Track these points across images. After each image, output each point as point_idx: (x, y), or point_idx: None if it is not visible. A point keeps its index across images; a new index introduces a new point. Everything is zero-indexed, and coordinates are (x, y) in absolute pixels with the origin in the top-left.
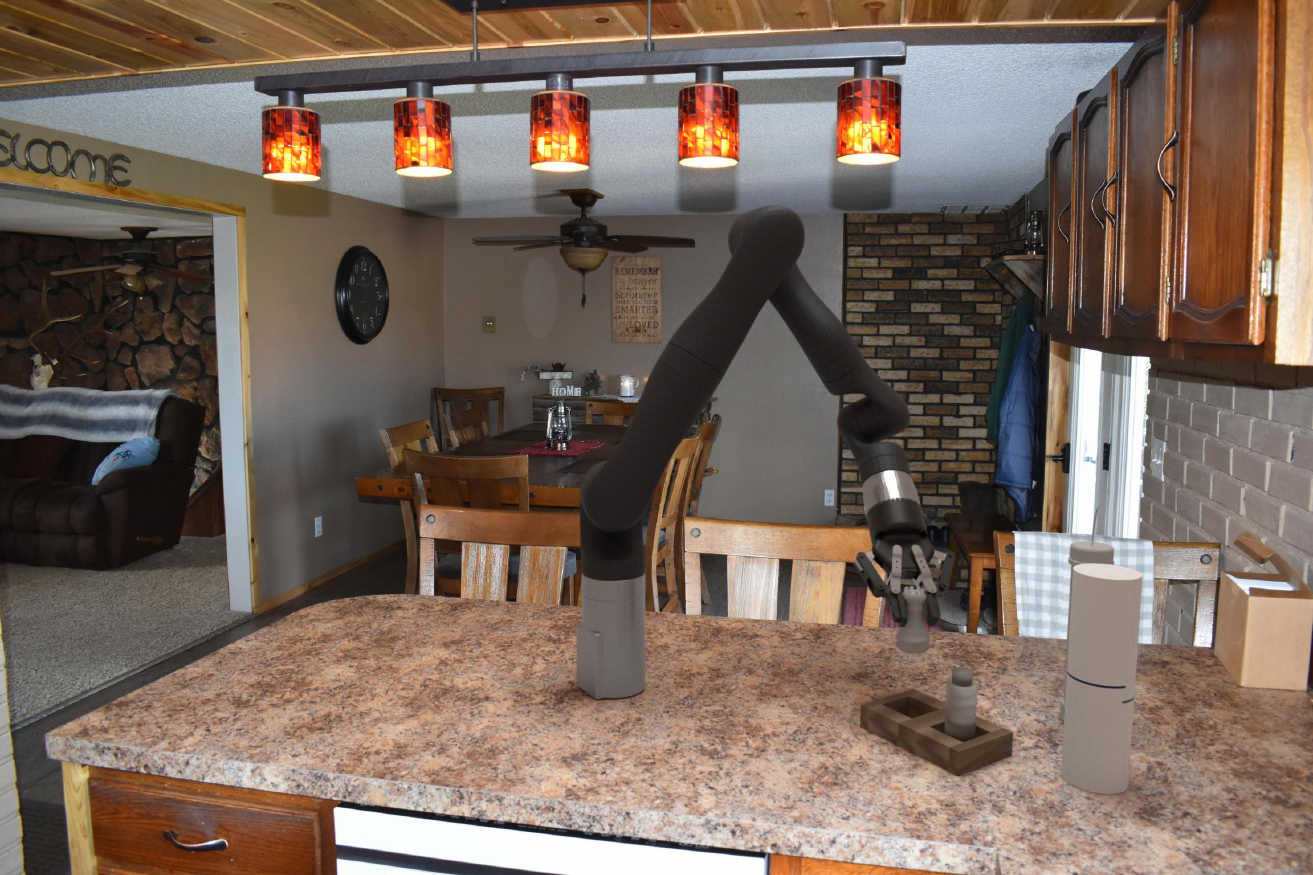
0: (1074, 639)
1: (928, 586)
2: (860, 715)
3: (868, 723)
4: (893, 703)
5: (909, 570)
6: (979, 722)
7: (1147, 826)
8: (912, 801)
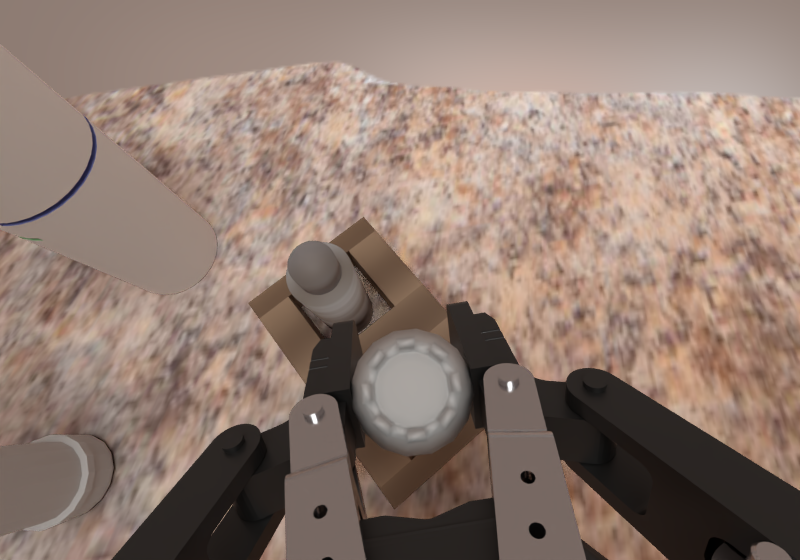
0: (6, 72)
1: (329, 420)
2: None
3: None
4: None
5: (424, 526)
6: (295, 337)
7: (171, 145)
8: (445, 160)
